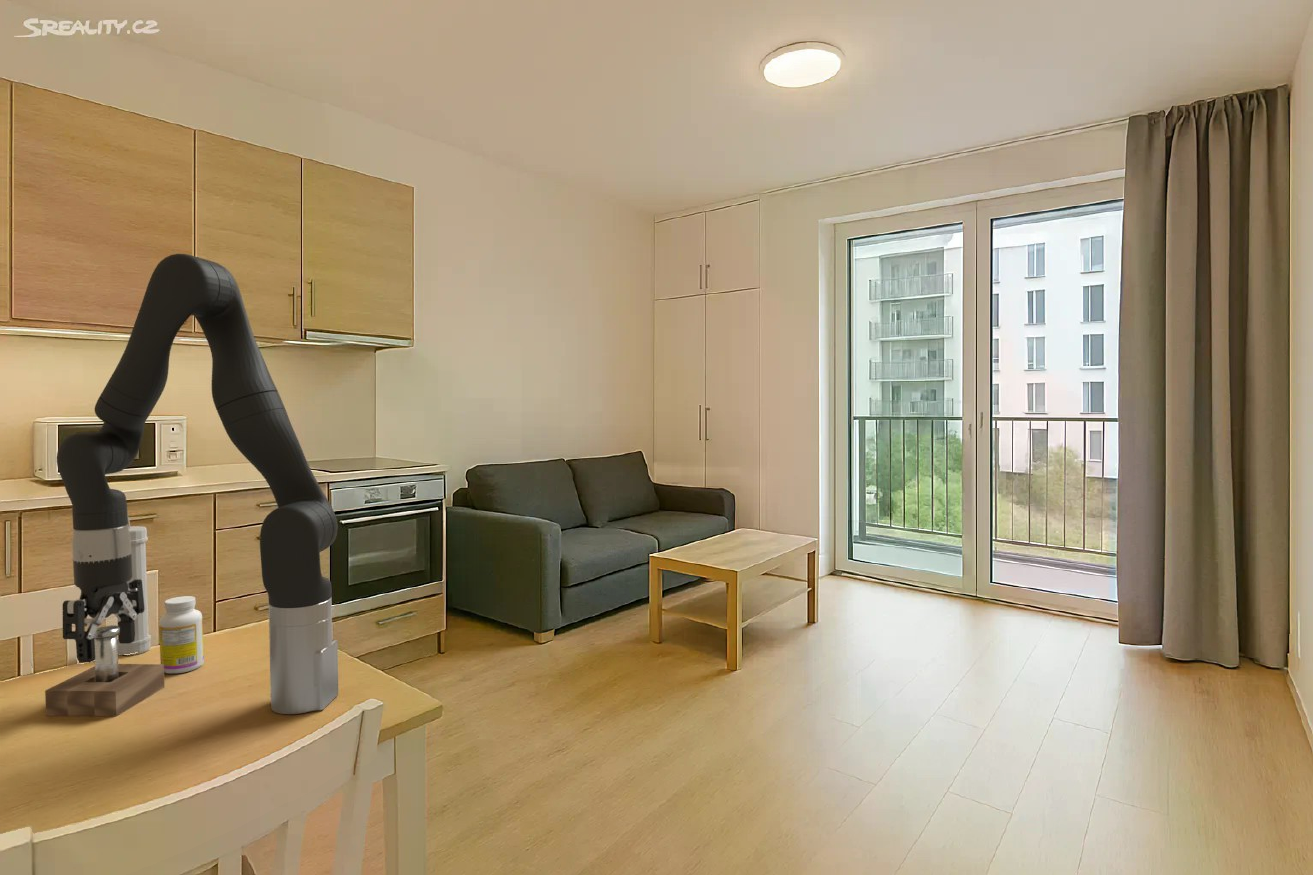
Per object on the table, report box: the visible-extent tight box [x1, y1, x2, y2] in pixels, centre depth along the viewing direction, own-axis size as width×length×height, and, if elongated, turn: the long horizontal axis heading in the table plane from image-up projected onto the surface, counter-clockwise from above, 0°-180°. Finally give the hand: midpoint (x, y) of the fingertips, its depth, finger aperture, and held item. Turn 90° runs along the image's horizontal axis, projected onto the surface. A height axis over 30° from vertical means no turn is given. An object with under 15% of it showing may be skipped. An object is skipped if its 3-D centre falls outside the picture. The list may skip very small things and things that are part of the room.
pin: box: [93, 624, 120, 682], centre depth 117 cm, size 4×4×12 cm
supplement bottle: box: [158, 595, 205, 675], centre depth 131 cm, size 7×7×13 cm
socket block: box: [44, 663, 165, 717], centre depth 117 cm, size 11×11×4 cm
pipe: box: [117, 516, 152, 657], centre depth 138 cm, size 6×6×30 cm
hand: (107, 651), depth 117 cm, fingers open, 8 cm apart
